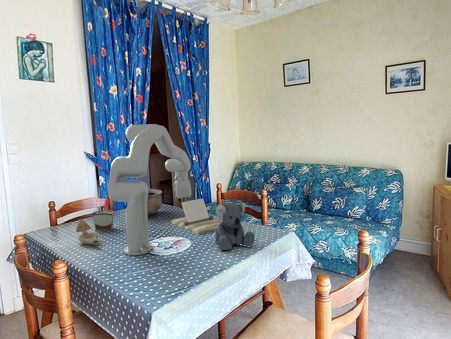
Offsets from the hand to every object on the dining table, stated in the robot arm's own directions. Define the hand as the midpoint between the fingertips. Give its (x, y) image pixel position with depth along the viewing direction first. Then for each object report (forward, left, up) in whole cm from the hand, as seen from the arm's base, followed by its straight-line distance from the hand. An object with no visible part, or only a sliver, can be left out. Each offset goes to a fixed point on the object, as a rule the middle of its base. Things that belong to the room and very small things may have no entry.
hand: (183, 208), depth 190 cm
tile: (-13, 0, +1) cm, 14 cm away
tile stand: (-17, 0, -6) cm, 18 cm away
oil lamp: (-5, +56, -7) cm, 57 cm away
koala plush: (-53, +6, -7) cm, 54 cm away
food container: (+13, +42, -7) cm, 45 cm away
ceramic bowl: (+25, +13, -7) cm, 29 cm away
